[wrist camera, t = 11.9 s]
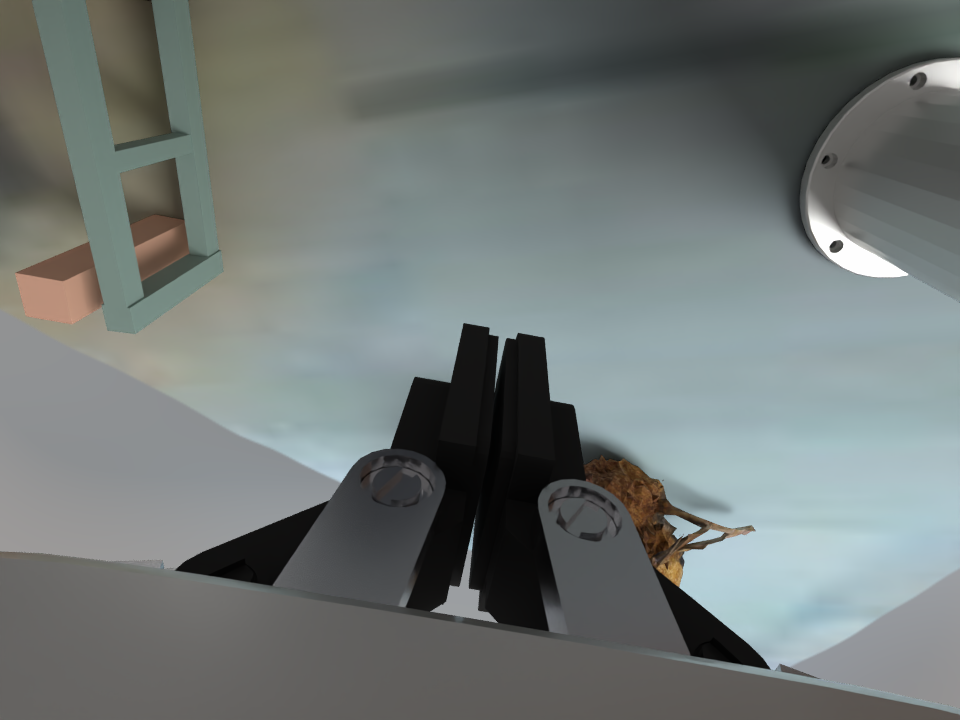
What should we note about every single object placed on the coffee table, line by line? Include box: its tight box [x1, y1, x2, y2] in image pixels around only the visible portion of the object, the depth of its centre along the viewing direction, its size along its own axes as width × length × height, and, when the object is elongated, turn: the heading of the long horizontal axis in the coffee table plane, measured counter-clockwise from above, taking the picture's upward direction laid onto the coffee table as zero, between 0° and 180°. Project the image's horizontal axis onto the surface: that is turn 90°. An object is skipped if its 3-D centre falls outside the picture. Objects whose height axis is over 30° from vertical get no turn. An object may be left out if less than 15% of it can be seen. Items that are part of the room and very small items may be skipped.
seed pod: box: [584, 455, 755, 587], centre depth 43 cm, size 14×18×16 cm
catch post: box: [15, 214, 189, 324], centre depth 34 cm, size 2×2×12 cm
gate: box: [32, 0, 223, 334], centre depth 30 cm, size 18×2×11 cm, turn 174°
